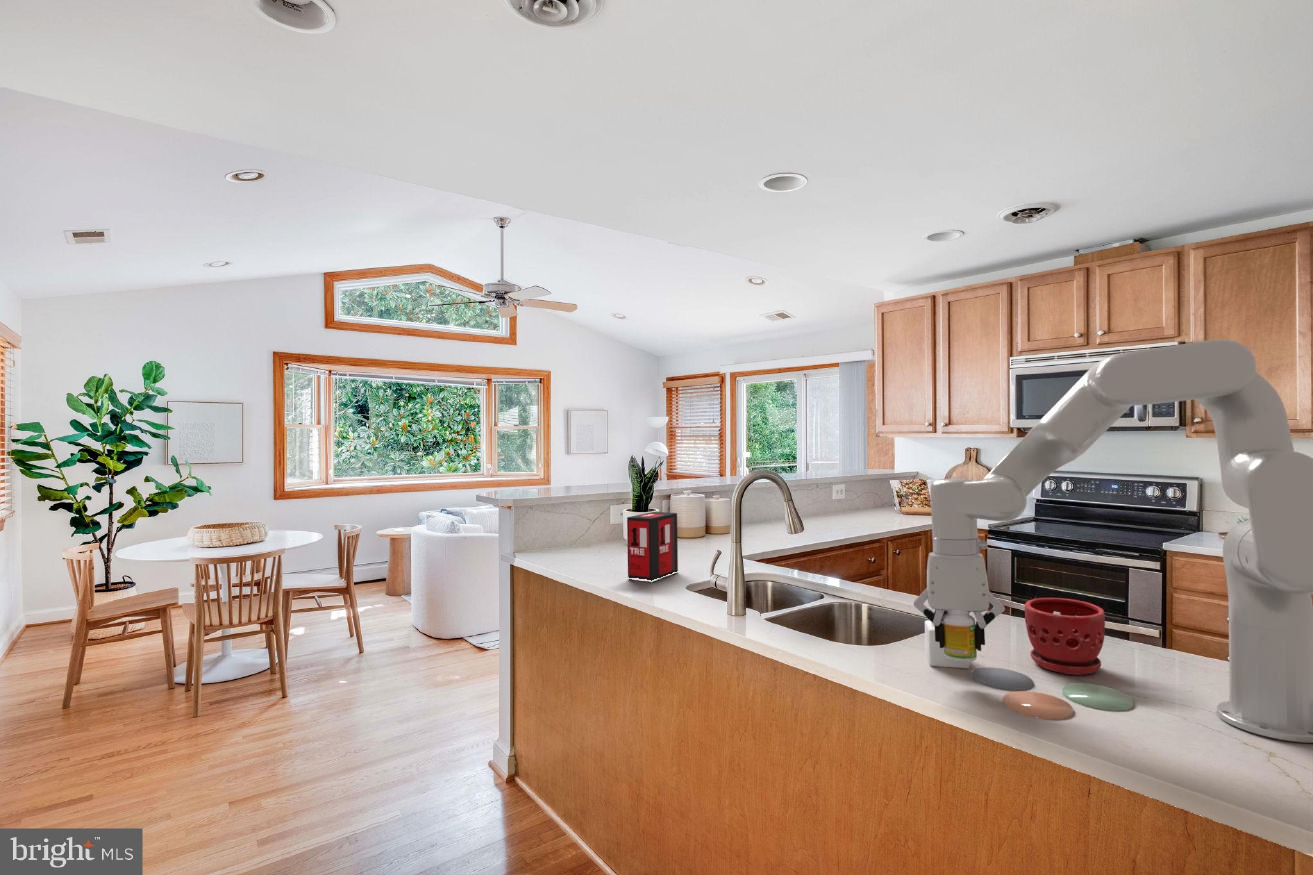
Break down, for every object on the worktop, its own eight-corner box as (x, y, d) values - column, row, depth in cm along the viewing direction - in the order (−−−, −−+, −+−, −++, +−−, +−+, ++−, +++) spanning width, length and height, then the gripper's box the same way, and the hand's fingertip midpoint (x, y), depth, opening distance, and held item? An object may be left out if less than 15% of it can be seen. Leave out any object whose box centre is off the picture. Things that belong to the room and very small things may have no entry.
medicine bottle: (962, 657, 132) (961, 598, 132) (969, 669, 125) (968, 607, 125) (924, 654, 134) (924, 596, 134) (929, 666, 127) (928, 605, 127)
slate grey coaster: (1027, 675, 123) (1027, 670, 123) (1038, 695, 113) (1038, 690, 113) (968, 669, 126) (968, 664, 126) (974, 688, 117) (974, 683, 117)
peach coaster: (1062, 698, 111) (1062, 694, 111) (1081, 724, 102) (1081, 719, 102) (997, 693, 114) (997, 688, 114) (1009, 717, 105) (1009, 712, 105)
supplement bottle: (976, 664, 114) (973, 608, 114) (942, 660, 117) (940, 606, 117) (977, 654, 119) (975, 601, 119) (945, 651, 121) (943, 599, 121)
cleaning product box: (655, 570, 221) (654, 511, 221) (677, 573, 217) (677, 513, 217) (627, 579, 207) (627, 517, 207) (651, 582, 203) (650, 518, 203)
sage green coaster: (1115, 689, 115) (1115, 684, 115) (1146, 714, 105) (1146, 710, 105) (1052, 685, 117) (1052, 681, 117) (1077, 710, 107) (1077, 705, 107)
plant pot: (1018, 653, 134) (1017, 595, 134) (1092, 659, 130) (1091, 599, 130) (1034, 676, 121) (1033, 611, 121) (1116, 683, 117) (1115, 617, 117)
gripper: (1005, 544, 118) (1010, 644, 118) (905, 542, 125) (909, 637, 124) (1011, 551, 111) (1016, 657, 111) (904, 549, 118) (909, 649, 117)
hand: (959, 646), depth 118 cm, fingers closed on supplement bottle, 5 cm apart
